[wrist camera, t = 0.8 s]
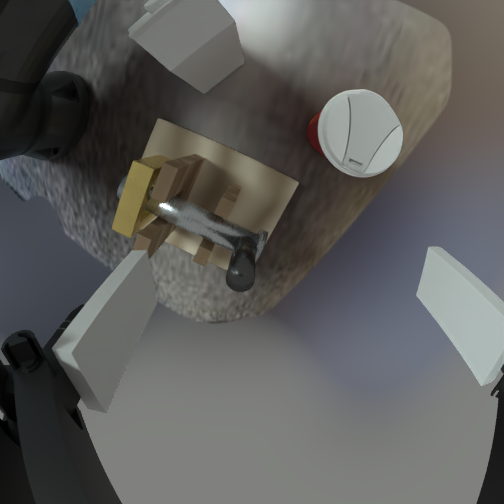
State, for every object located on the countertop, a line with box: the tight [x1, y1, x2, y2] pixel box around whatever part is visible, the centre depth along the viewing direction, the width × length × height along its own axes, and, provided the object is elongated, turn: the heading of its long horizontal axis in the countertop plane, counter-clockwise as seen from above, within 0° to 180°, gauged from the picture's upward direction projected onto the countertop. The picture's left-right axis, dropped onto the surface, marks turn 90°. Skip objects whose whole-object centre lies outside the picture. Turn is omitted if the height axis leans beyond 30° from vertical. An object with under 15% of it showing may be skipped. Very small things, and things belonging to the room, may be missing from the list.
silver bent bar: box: [117, 175, 268, 292], centre depth 28 cm, size 17×4×11 cm, turn 64°
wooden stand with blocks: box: [133, 118, 299, 270], centre depth 32 cm, size 21×16×14 cm
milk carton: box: [128, 0, 245, 94], centre depth 22 cm, size 7×7×19 cm
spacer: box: [112, 155, 171, 238], centre depth 31 cm, size 2×8×8 cm, turn 154°
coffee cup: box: [307, 89, 403, 177], centre depth 28 cm, size 8×8×15 cm
